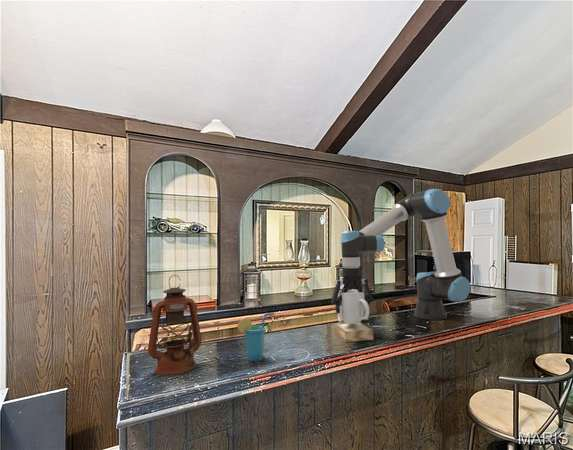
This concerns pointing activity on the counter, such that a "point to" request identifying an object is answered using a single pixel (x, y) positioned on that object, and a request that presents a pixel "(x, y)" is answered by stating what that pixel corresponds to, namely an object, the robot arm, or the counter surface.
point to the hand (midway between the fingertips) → (353, 319)
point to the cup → (253, 337)
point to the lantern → (176, 355)
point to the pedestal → (353, 332)
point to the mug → (353, 306)
